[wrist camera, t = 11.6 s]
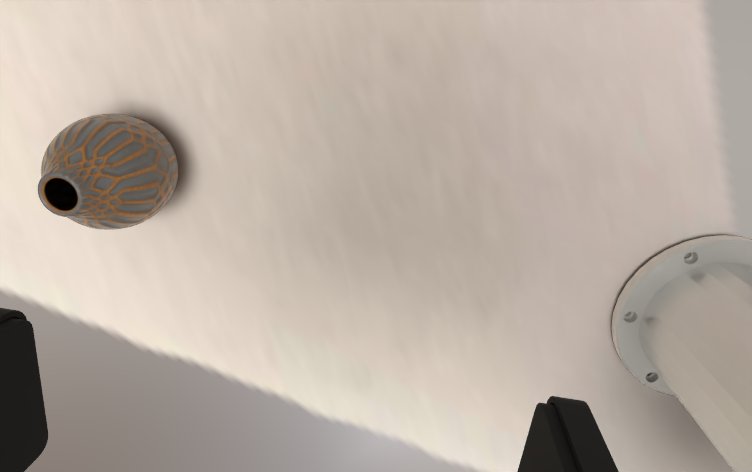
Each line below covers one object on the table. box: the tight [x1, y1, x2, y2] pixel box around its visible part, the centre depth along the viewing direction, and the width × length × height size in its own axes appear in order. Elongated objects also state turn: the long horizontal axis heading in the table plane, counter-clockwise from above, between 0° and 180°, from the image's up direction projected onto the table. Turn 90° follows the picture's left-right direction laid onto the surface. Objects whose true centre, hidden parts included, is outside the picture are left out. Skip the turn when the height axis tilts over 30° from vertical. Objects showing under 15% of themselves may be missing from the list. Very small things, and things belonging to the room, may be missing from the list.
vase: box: [38, 114, 178, 229], centre depth 30 cm, size 7×7×9 cm
